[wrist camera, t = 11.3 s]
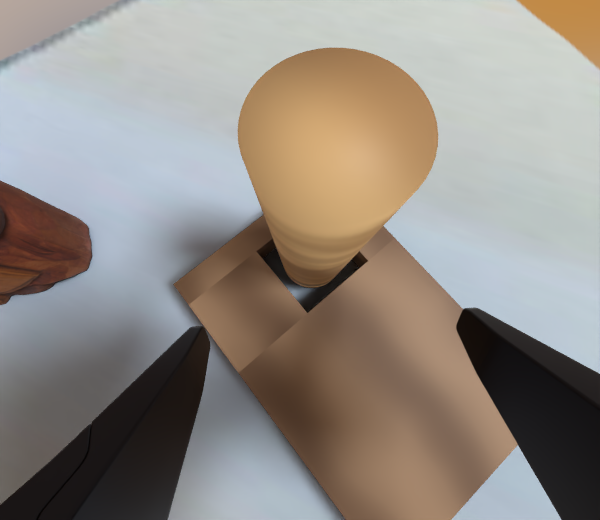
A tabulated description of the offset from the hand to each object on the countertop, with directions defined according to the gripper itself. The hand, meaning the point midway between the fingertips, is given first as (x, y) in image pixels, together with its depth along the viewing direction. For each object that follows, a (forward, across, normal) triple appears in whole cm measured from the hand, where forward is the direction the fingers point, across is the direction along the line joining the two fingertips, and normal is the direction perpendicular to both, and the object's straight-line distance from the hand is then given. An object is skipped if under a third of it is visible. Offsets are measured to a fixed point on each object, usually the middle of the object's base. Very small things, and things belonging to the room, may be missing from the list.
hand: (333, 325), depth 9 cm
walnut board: (+6, -2, +8) cm, 10 cm away
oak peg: (+10, 0, +4) cm, 10 cm away
